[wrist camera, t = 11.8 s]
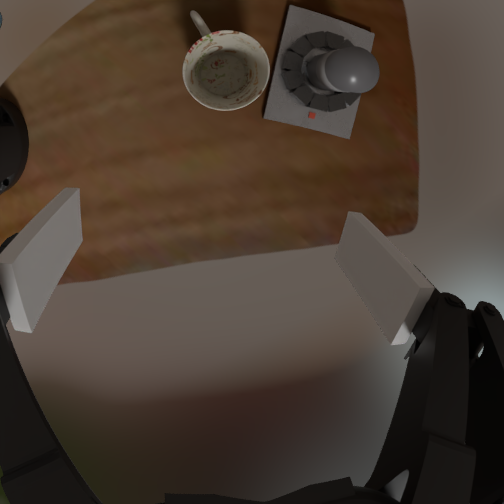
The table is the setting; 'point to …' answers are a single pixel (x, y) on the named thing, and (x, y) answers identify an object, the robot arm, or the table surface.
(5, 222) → the table surface
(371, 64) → the lens
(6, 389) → the robot arm
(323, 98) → the mount
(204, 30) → the mug
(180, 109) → the table surface
